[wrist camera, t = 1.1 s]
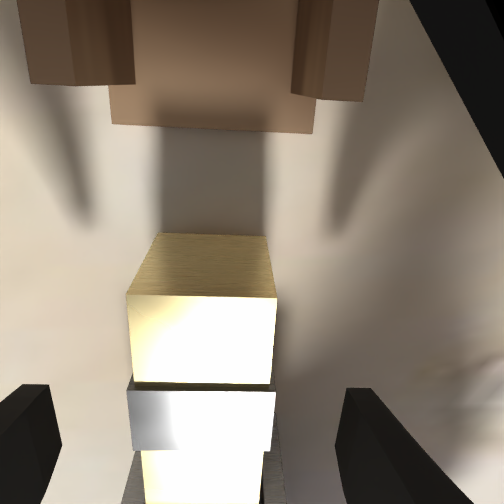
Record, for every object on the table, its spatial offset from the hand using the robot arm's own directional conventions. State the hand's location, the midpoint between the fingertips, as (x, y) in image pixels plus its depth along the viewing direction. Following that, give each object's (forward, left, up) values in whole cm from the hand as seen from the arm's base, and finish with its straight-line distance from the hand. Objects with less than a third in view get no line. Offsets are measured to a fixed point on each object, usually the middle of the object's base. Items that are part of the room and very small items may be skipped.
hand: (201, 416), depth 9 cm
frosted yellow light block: (-4, 0, -4) cm, 6 cm away
